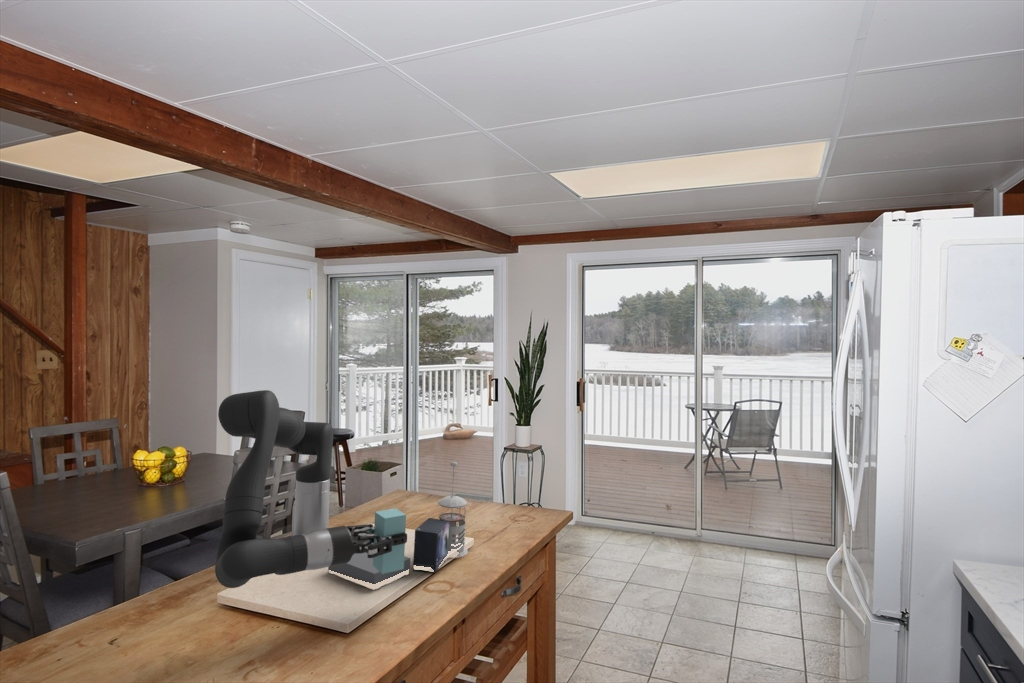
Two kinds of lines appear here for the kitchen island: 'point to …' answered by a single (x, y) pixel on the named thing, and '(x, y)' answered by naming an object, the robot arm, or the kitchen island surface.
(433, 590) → the kitchen island surface
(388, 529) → the teal block
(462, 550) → the french press
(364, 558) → the grey flat block
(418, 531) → the small box
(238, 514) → the robot arm
